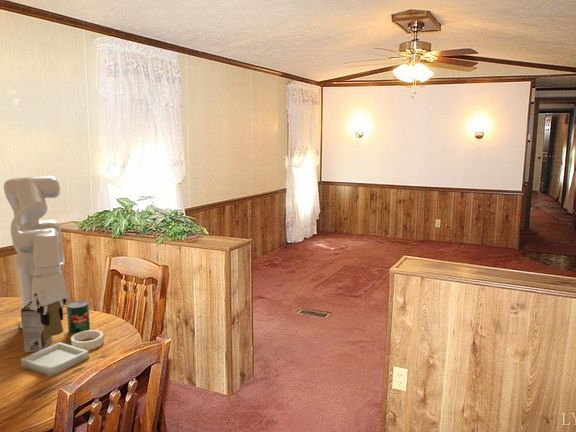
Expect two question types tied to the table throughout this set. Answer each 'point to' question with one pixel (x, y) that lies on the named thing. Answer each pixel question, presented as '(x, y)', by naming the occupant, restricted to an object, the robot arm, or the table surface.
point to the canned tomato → (78, 316)
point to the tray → (54, 359)
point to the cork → (53, 320)
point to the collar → (88, 334)
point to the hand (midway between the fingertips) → (52, 321)
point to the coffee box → (33, 330)
